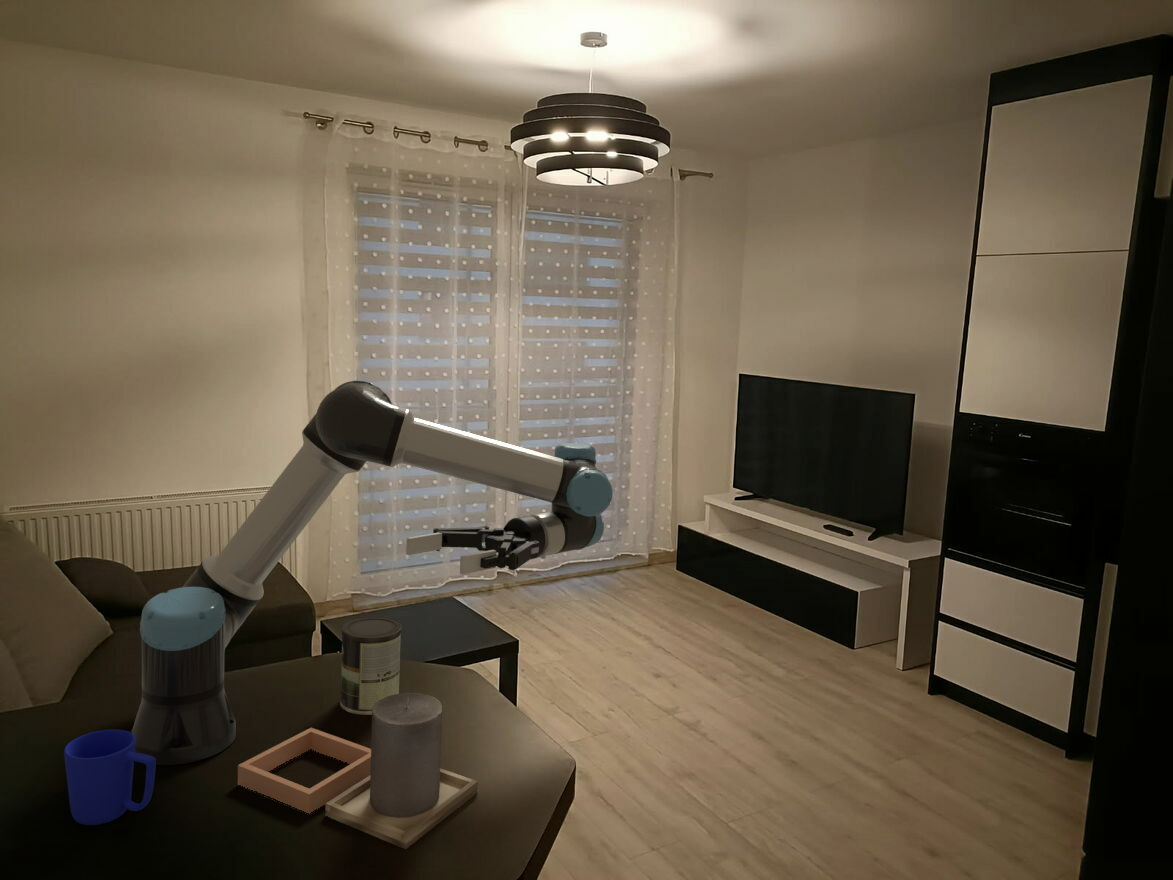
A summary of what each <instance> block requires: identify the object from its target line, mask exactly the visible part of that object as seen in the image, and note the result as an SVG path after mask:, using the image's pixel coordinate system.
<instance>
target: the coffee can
mask: <svg viewBox="0 0 1173 880" xmlns="http://www.w3.org/2000/svg"><path fill="white" fill-rule="evenodd" d="M402 628H403V626H402V624H401V623H400V622H399V621H397V620H396V619H395V620H394V619H392V618H389V617H380V616H379V617H378V616H376V617H375V616H372V617H371V616H370V617H359V618H355V619H353V620H350V621H347V622H346V623H344V624H343V625H342V626H341V671H340V672H341V679H340V681H341V682H340V683H341V684H340V703H339V704H340V708H341V709H342V710H344V711H345V712H348V713H350V714H353V715H361V716H372V709H373V706H374V705H375V703H376V702H378V701H379V700H381V699H383V698H385V697H387V696H391V695H395V694H400V693H399V692H400V688H399V687H400V666H401V665H400V664H401V660H400V659H401V635H402V634H401V633H402V630H403V629H402Z"/></svg>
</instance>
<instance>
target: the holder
mask: <svg viewBox="0 0 1173 880" xmlns="http://www.w3.org/2000/svg"><path fill="white" fill-rule="evenodd" d="M310 749H312V750H310ZM308 750H309V751H313V750H314V752H315V751H316V753H318V752H319V754H320V755H323V754H324V756H326V755H327V756H326V757H329V756H330V757H329V758H331V757H333V758H332V759H334V758H336V759H335V760H337V759H338V760H337V761H339V760H341V761H340V762H342V761H343V762H342V763H345V762H347V763H346V764H349V765H347V766H345V767H344V768H342V769H340V770H338V771H337V772H335V773H333V774H331V775H330V776H329V777H327V778H325V779H323V780H322V781H319V782H318V783H316V784H314V785H313V786H312V787H310V788H309V787H306V786H304V785H302V784H299V783H296V782H294V781H292V780H289V779H286V778H284V777H281V776H280V775H276V774H273V773H271V772H272V771H271V770H273V769H274V768H276V767H277V766H279V765H281V764H283V763H285V762H286V761H289V760H290V759H293V758H294V757H296V758H298V757H300V756H302V755H303V754H302V753H304V752H306V751H307V752H309V751H308ZM307 752H306V753H307ZM301 754H302V755H301ZM304 754H305V753H304ZM299 755H300V756H299ZM297 756H298V757H297ZM293 760H294V759H293ZM289 762H290V761H289ZM285 764H286V763H285ZM276 769H277V768H276ZM274 770H275V769H274ZM274 770H273V771H274ZM269 771H271V772H269ZM370 773H371V748H369V747H366V746H364V745H361V744H359V743H355V742H353V741H350V740H347V739H344V738H341V737H339V736H336V735H334V734H330V733H327V732H325V731H322V730H319V729H316V728H313V727H310V728H308V729H305V730H304V731H301V732H300V733H298V734H296V735H294V736H292V737H290V738H288V739H285V740H284V741H282V742H280V743H279V744H276V745H274V746H273V747H270V748H268V749H267V750H264V751H262V752H261V753H259V754H257V755H255V756H253V757H251V758H249V759H247V760H245V761H244V762H241V763H240V764H238V765H237V786H239V785H241V786H240V787H242V786H243V788H244V787H245V789H247V788H248V789H247V790H249V789H250V790H249V791H251V790H253V791H252V792H254V791H257V792H258V793H261V794H264V795H266V796H270V797H271V798H274V799H276V800H278V801H280V802H283V803H285V804H288V805H291V806H292V807H295V808H297V809H299V810H302V811H304V812H306V813H309V814H310V813H311V812H313V811H314V810H316V809H317V810H319V809H320V807H321V806H322V807H324V806H325V804H326V803H327V802H329V801H330V800H332V799H333V798H335V797H337V796H338V795H340V794H341V793H343V792H344V791H346V790H348V789H349V788H351V787H352V786H354V785H356V784H357V783H359V782H360V781H362V780H363V779H365V778H367V777H368V776H370ZM258 793H257V794H258ZM261 794H260V795H261ZM266 796H265V797H266ZM280 802H279V803H280ZM285 804H284V805H285ZM323 805H324V806H323ZM292 807H291V808H292ZM322 807H321V808H322ZM318 808H319V809H318ZM299 810H298V811H299ZM317 810H316V811H317ZM314 812H315V811H314ZM314 812H313V813H314ZM306 813H305V814H306ZM311 814H312V813H311ZM311 814H310V815H311Z"/></svg>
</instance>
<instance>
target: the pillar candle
mask: <svg viewBox="0 0 1173 880" xmlns="http://www.w3.org/2000/svg"><path fill="white" fill-rule="evenodd" d="M442 705H443V704H442V703H441V701H440V700H439V699H437V698H436V697H434V696H431V695H430V694H424V693H419V692H402V693H401V692H400V693H399V694H395V695H391V696H387V697H385V698H383V699H381V700H379V701H378V702H376V703H375V705H374V706H373V709H372V715H371V740H370V741H371V742H370V743H371V744H370V747H371V748H370V749H371V773H370V804H371V806H372V808H373V809H374V810H375V811H377V812H378V813H380V814H383V815H385V816H390V817H396V818H398V817H399V818H400V817H411V816H415V815H417V814H419V813H421V812H424V811H426V810H429V809H431V808H432V807H433V806H434V805H436V803H437V801H438V799H439V791H440V768H441V767H442V766H441V763H442V762H441V757H442V755H441V754H442V752H441V750H442V749H441V747H442V727H443V726H442V723H443V722H442V719H443V706H442Z"/></svg>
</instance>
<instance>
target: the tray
mask: <svg viewBox="0 0 1173 880" xmlns="http://www.w3.org/2000/svg"><path fill="white" fill-rule="evenodd" d="M478 783H479V782H478V781H477V780H475V779H473V778H469V777H467V776H463V775H460V774H458V773H455V772H452V771H451V770H450V771H449V770H446V769H443V768H441V767H440V791H439V799H438V801H437V803H436V805H434V806H433V807H432V808H431V809H429V810H426V811H424V812H421V813H419V814H417V815H415V816H411V817H400V818H399V817H398V818H396V817H390V816H385V815H383V814H380V813H378V812H377V811H375V810H374V809H373V808H372V806H371V804H370V776H368V777H367V778H365V779H363V780H362V781H360V782H359V783H357V784H356V785H354V786H352V787H351V788H349V789H348V790H346V791H344V792H343V793H341V794H340V795H338V796H337V797H335V798H333V799H332V800H330V801H329V802H327V803H326V804H325V805H324V807H325V808H324V809H325V810H324V813H325V814H324V815H325V817H327V816H328V817H327V818H329V817H330V818H329V819H332V820H335V821H337V822H339V823H341V824H344V825H346V826H349V827H351V828H354V829H355V830H358V831H360V832H363V833H365V834H367V835H370V836H373V837H375V838H377V839H380V840H382V841H385V842H387V843H389V844H392V845H394V846H396V847H398V848H402V849H404V850H407V849H409V848H410V847H411V846H412V845H414V844H415V843H416V842H417V841H418V840H419V839H421V838H422V837H424V836H425V835H426V834H427V833H429V832H430V831H431V830H432V829H434V828H435V827H437V825H439V824H440V823H441V822H443V821H444V820H445V819H446V818H448V816H450V815H452V814H453V813H454V812H456V810H458V809H459V808H460V807H462V805H464V804H465V803H466V802H468V801H469V800H470V799H471V798H473V797H474V796H475V795H476V794H478V787H479V786H478ZM457 808H458V809H457Z"/></svg>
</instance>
